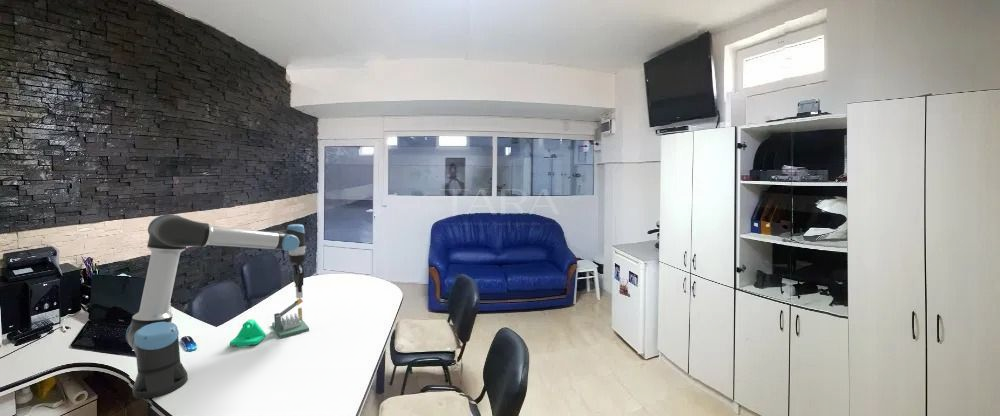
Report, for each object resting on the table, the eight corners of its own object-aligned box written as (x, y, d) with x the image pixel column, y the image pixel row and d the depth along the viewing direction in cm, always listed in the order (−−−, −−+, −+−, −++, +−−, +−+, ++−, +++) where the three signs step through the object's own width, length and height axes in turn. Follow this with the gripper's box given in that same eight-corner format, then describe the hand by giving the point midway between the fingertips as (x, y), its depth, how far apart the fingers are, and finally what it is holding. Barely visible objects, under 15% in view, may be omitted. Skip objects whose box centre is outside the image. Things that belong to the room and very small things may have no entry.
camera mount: (229, 347, 164) (227, 326, 163) (238, 340, 172) (237, 319, 171) (257, 346, 166) (256, 325, 165) (265, 338, 174) (264, 318, 172)
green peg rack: (309, 330, 183) (308, 314, 182) (280, 338, 174) (279, 321, 173) (299, 318, 196) (298, 303, 196) (272, 325, 188) (271, 309, 187)
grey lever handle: (303, 301, 186) (301, 299, 186) (277, 320, 179) (275, 318, 178) (301, 299, 189) (299, 297, 189) (276, 318, 182) (274, 315, 181)
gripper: (308, 255, 182) (310, 299, 185) (302, 250, 191) (304, 292, 194) (292, 257, 177) (294, 302, 180) (286, 252, 186) (288, 295, 189)
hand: (299, 297), depth 187 cm, fingers closed
